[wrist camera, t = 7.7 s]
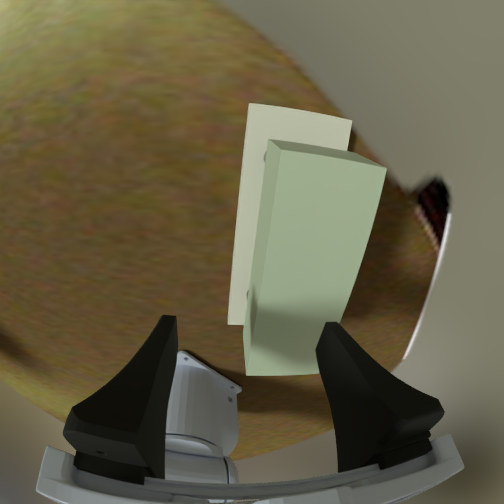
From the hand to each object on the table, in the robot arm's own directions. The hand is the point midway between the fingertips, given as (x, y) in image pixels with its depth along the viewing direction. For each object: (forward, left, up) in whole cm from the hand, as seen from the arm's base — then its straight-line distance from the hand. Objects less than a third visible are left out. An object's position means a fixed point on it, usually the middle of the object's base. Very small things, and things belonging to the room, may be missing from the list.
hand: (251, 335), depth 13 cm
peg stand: (-1, -3, -10) cm, 10 cm away
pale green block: (-1, -3, -6) cm, 7 cm away
